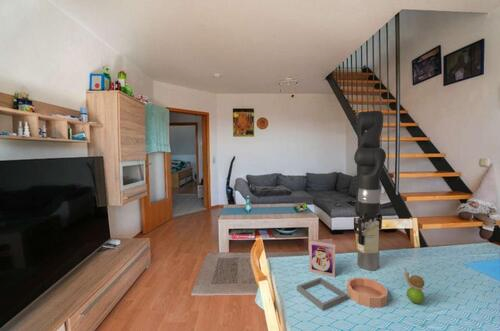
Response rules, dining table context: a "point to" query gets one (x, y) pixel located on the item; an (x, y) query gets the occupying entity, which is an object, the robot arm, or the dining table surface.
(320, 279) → the open rectangular frame
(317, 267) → the greeting card
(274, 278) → the dining table surface
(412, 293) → the snail figurine
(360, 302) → the bowl
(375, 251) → the skincare box
